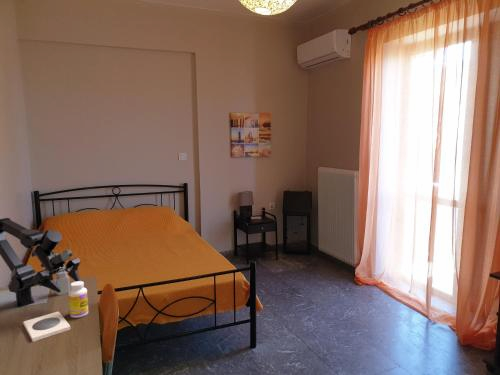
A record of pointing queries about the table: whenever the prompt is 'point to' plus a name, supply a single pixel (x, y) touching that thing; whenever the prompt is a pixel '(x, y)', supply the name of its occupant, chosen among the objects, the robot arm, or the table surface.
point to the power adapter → (62, 282)
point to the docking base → (46, 326)
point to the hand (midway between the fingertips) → (70, 287)
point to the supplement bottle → (78, 300)
